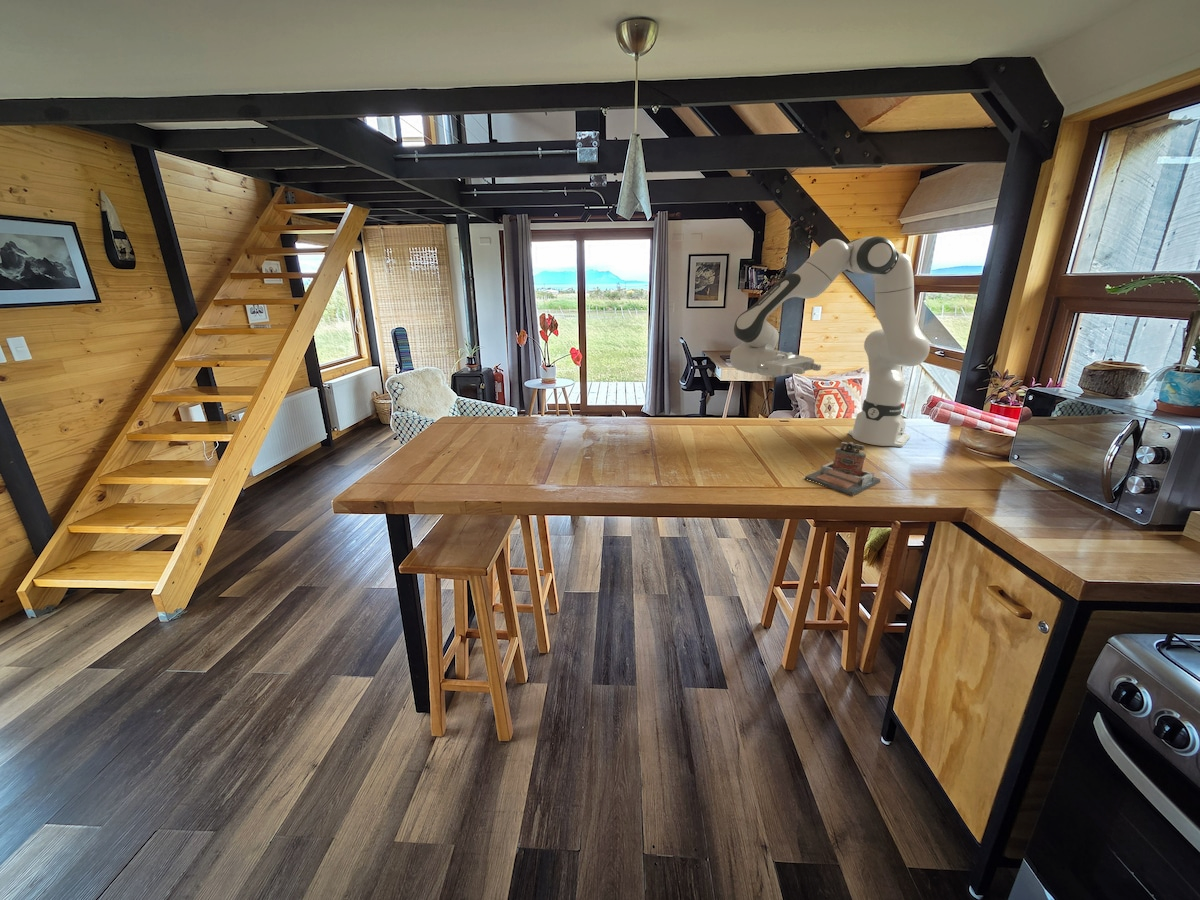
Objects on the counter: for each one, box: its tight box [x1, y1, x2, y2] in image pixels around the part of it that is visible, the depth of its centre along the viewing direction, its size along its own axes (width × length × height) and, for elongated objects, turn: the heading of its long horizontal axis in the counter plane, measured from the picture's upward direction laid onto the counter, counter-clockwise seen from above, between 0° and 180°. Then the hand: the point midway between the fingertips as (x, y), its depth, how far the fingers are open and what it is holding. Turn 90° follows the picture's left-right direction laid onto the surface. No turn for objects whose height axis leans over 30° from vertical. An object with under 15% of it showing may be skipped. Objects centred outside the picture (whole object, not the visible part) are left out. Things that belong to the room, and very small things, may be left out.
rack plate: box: [804, 460, 881, 496], centre depth 139 cm, size 16×14×3 cm
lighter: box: [833, 441, 867, 477], centre depth 139 cm, size 8×3×10 cm, turn 50°
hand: (811, 369), depth 151 cm, fingers open, 8 cm apart
